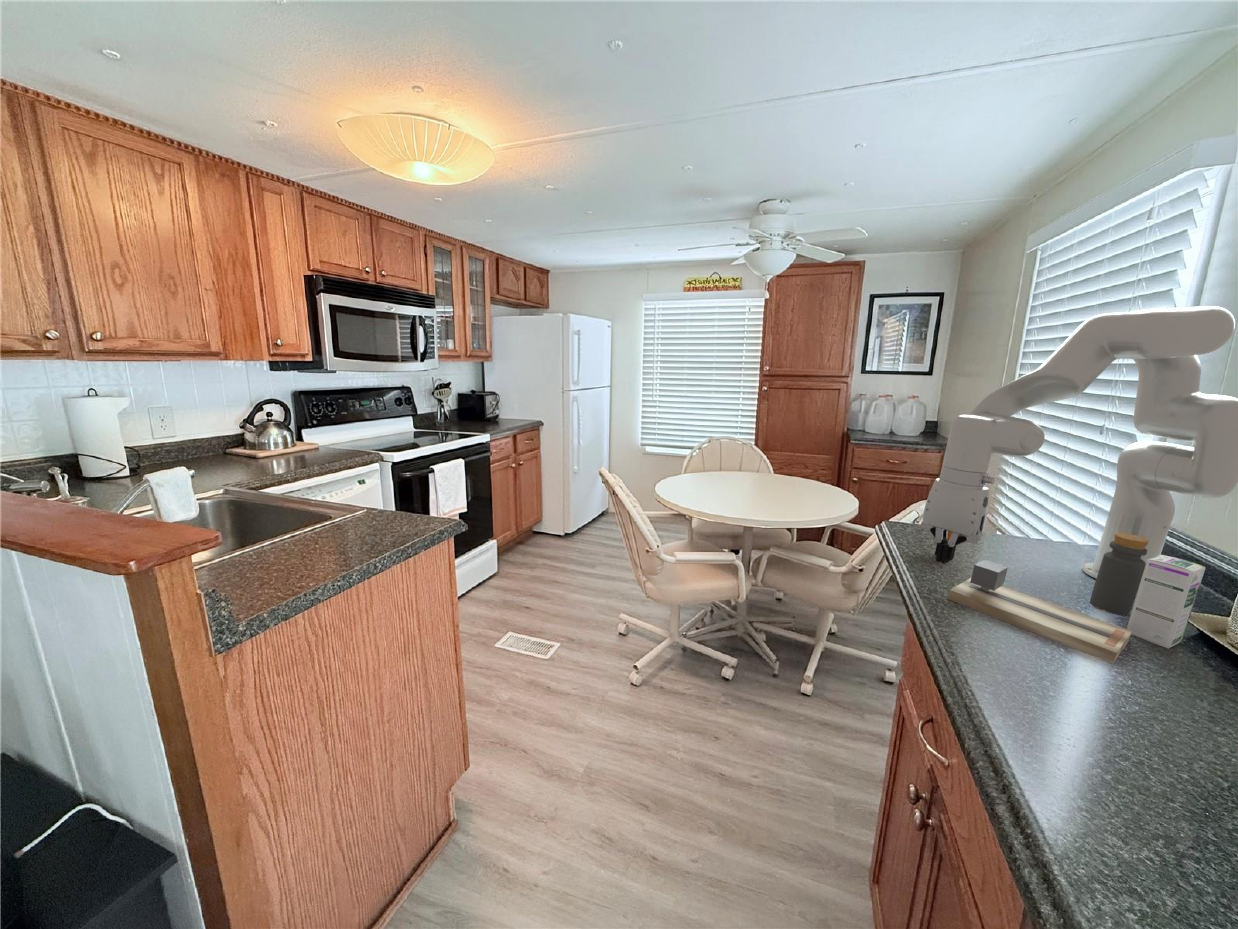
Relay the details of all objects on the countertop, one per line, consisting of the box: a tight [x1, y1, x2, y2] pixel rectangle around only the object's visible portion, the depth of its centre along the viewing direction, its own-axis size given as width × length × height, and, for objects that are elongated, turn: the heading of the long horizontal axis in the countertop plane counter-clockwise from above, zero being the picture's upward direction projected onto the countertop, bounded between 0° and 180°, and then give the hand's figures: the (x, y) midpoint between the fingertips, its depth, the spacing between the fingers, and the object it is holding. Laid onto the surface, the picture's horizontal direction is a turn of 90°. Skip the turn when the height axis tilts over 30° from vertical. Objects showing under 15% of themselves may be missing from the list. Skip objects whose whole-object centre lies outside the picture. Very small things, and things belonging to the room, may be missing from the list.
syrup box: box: [1126, 554, 1206, 649], centre depth 86 cm, size 6×6×14 cm
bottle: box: [1089, 533, 1149, 616], centre depth 96 cm, size 6×6×15 cm
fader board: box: [947, 577, 1132, 665], centre depth 91 cm, size 12×24×2 cm, turn 35°
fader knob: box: [970, 559, 1009, 591], centre depth 97 cm, size 5×4×5 cm
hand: (942, 561), depth 103 cm, fingers closed
